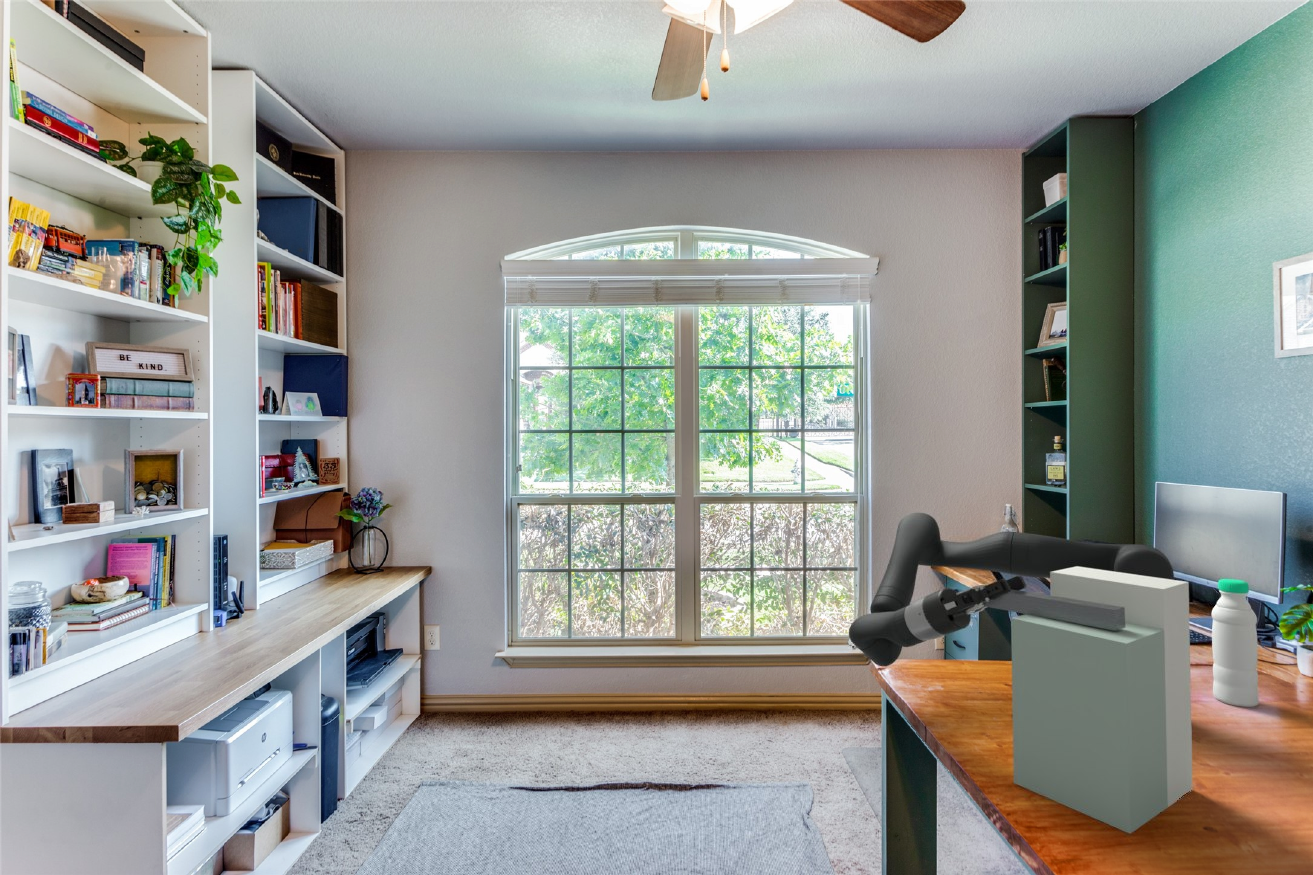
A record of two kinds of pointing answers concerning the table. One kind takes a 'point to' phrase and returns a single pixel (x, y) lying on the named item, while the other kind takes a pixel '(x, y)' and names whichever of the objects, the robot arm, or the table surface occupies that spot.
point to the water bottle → (1234, 646)
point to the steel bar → (1061, 609)
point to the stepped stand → (1106, 699)
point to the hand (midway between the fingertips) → (1015, 583)
